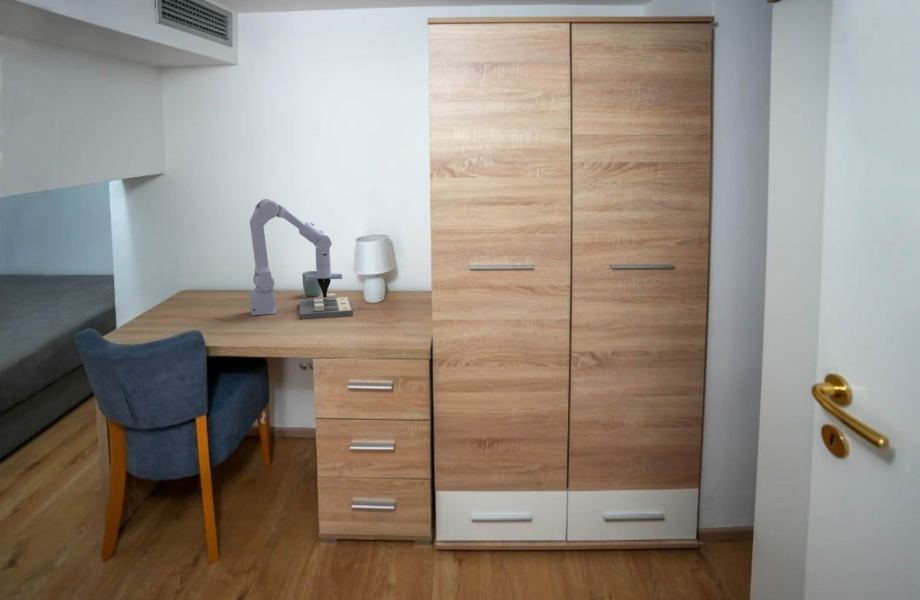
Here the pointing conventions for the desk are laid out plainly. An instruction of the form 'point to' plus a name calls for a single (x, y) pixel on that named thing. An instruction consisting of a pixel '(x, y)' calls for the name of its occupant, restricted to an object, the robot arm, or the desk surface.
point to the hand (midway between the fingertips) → (324, 297)
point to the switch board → (326, 308)
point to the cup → (311, 285)
